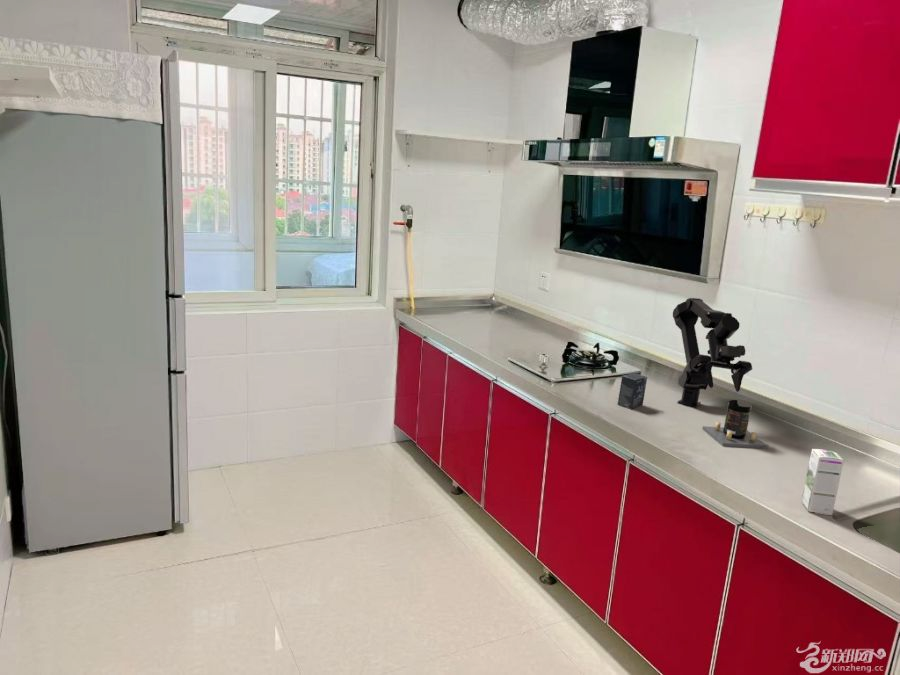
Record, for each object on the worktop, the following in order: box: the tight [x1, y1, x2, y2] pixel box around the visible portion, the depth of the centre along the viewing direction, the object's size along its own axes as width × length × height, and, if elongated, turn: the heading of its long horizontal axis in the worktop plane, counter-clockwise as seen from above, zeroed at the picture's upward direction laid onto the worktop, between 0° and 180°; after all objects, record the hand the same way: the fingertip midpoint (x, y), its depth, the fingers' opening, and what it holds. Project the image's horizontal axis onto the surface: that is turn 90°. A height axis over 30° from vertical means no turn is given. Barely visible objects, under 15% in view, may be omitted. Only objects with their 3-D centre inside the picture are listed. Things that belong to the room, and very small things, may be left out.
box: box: [617, 372, 648, 410], centre depth 238 cm, size 8×6×11 cm
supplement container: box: [723, 399, 753, 439], centre depth 213 cm, size 7×7×10 cm
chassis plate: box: [702, 421, 768, 449], centre depth 214 cm, size 14×14×4 cm
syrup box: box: [801, 448, 844, 516], centre depth 168 cm, size 6×6×14 cm
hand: (725, 389), depth 220 cm, fingers open, 9 cm apart
